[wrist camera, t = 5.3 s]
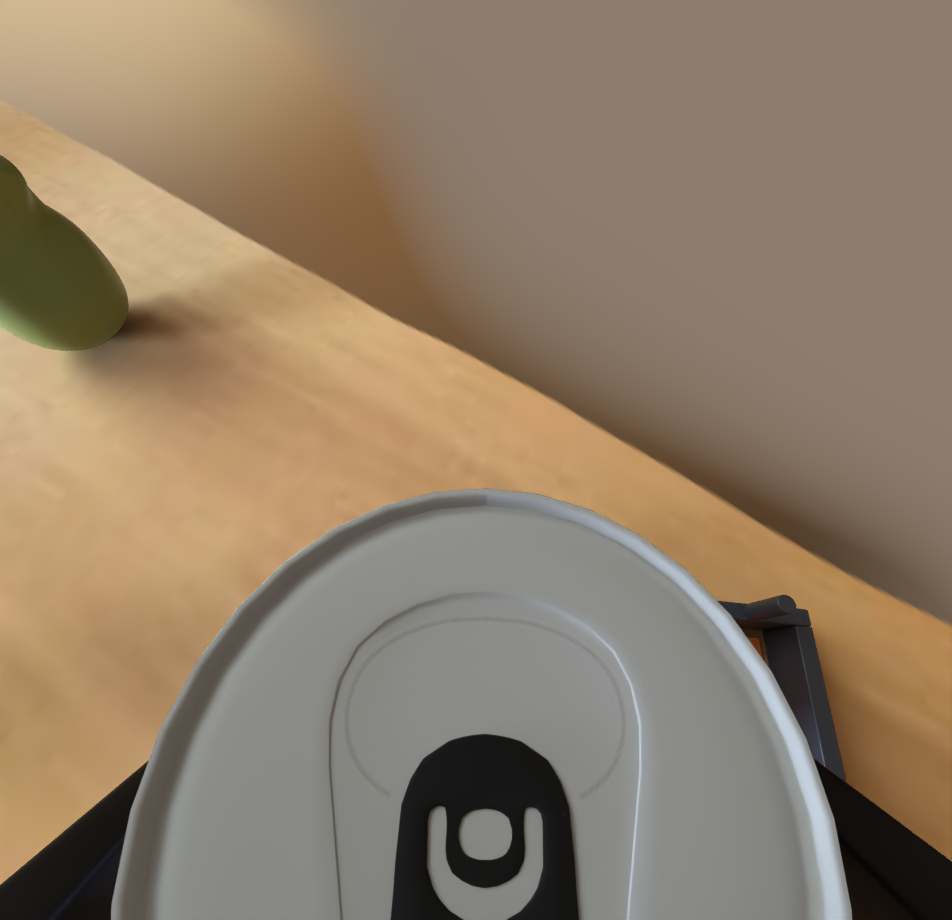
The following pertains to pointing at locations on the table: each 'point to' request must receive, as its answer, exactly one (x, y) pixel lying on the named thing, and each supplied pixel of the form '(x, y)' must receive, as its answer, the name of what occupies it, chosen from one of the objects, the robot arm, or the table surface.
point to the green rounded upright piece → (53, 274)
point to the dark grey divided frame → (795, 670)
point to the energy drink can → (481, 738)
